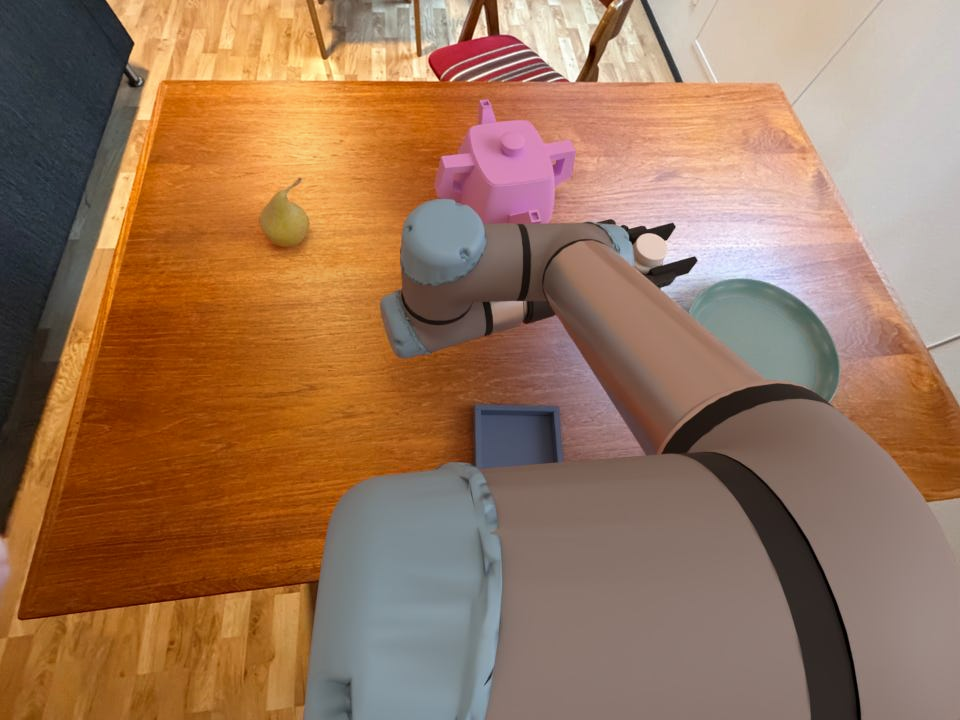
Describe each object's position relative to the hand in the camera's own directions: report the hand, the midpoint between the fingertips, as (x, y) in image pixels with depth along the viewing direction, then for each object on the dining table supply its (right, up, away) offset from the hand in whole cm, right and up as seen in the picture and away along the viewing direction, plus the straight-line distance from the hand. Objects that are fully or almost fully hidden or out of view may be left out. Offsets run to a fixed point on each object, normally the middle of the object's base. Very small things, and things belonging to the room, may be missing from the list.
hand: (680, 247), depth 70 cm
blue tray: (-21, -27, +5) cm, 34 cm away
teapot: (-22, +11, +23) cm, 34 cm away
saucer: (+17, -14, +16) cm, 27 cm away
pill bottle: (-6, -4, +4) cm, 8 cm away
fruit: (-55, +5, +16) cm, 58 cm away
